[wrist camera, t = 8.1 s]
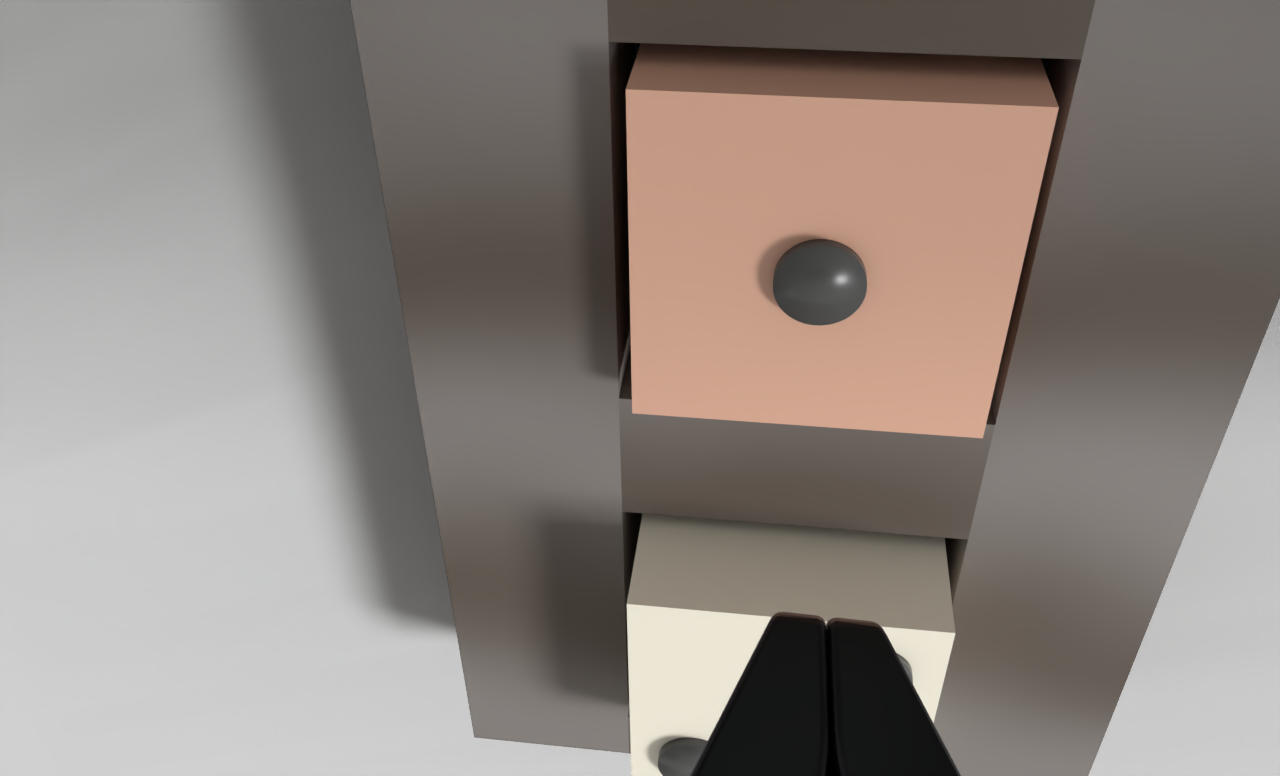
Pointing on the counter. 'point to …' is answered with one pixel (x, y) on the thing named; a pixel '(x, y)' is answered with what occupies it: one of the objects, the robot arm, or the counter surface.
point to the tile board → (808, 455)
